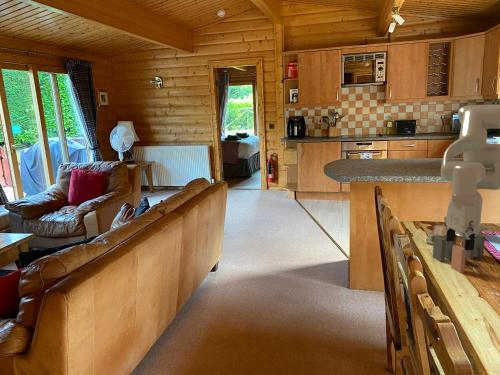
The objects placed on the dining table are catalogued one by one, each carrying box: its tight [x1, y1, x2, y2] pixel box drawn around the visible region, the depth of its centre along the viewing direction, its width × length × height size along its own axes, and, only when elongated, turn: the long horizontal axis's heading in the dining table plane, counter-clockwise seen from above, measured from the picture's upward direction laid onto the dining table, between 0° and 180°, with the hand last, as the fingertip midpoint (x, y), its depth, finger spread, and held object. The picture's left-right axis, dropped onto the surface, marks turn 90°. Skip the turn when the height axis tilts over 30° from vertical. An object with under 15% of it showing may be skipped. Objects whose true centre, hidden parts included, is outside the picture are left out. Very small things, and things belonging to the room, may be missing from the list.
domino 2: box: [443, 235, 457, 262], centre depth 151 cm, size 2×5×9 cm, turn 9°
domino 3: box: [450, 244, 467, 274], centre depth 140 cm, size 2×5×9 cm, turn 9°
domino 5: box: [474, 234, 486, 259], centre depth 153 cm, size 2×5×9 cm, turn 9°
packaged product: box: [426, 224, 447, 246], centre depth 173 cm, size 18×5×10 cm
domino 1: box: [432, 236, 446, 263], centre depth 150 cm, size 2×5×9 cm, turn 9°
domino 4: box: [461, 233, 475, 260], centre depth 152 cm, size 2×5×9 cm, turn 9°
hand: (459, 245), depth 139 cm, fingers open, 9 cm apart
